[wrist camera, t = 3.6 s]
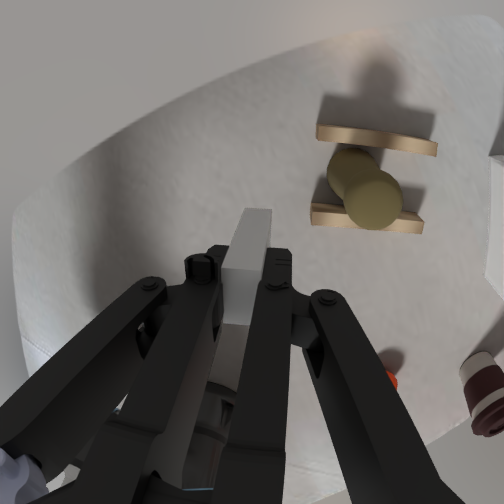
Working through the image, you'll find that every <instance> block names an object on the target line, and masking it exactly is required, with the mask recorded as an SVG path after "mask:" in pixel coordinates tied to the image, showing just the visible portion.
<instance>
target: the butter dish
mask: <svg viewBox="0 0 504 504" xmlns="http://www.w3.org/2000/svg"><path fill="white" fill-rule="evenodd" d="M488 163H489V212H488V230H487V243H486V253H485V262H484V270H483V276H484V277H485V278H486V279H487V280H488V282H489V283H490V284H491V285H492V286H493V288H494V289H495V290H496V291H497V293H498V294H499V295H500V297H501V298H502V299H503V300H504V155H494V156H488Z"/></svg>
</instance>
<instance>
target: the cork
mask: <svg viewBox="0 0 504 504" xmlns="http://www.w3.org/2000/svg"><path fill="white" fill-rule="evenodd" d="M327 180H328V183H329V185H330V187H331V189H332V190H333V191H334V192H335V193H336V194H337V195H338V196H339V197H340V198H341V199H342V200H343V202H344V207H345V210H346V213H347V214H348V216H349V218H350V219H351V220H352V221H353V222H354V223H355V224H356V225H358V226H359V227H362V228H364V229H367V230H379V229H384V228H386V227H387V226H389V225H391V224H392V223H393V222H394V221H395V220H396V219H397V218H398V216H399V214H400V212H401V210H402V205H403V195H402V190H401V188H400V186H399V184H398V182H397V181H396V180H395V179H394V178H393V177H392V176H391V175H390V174H389V173H386V172H384V171H382V170H380V168H379V167H378V165H377V163H376V162H375V160H374V158H373V157H372V156H371V155H370V154H369V153H368V152H366V151H364V150H362V149H360V148H347V149H343V150H341V151H340V152H338V153H336V154H335V155H334V156H333V158H332V159H331V160H330V162H329V165H328V167H327Z"/></svg>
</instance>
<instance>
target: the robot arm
mask: <svg viewBox="0 0 504 504" xmlns="http://www.w3.org/2000/svg"><path fill="white" fill-rule="evenodd" d="M271 217H272V209H256V208H245V209H244V212H243V214H242V216H241V219H240V221H239V224H238V226H237V229H236V231H235V234H234V236H233V239H232V241H231V244H230V246H226V245H214V246H212V247H211V248H209V249H208V251H207V253H200V254H194V255H191V256H189V257H187V258H186V259H185V260H184V262H185V272H186V280H185V282H184V283H183V284H181V285H174V286H166V282H165V280H164V279H162V278H160V277H154V276H151V277H146V278H143V279H140V280H139V281H137V282H136V283H135V284H134V285H132V286H131V287H130V288H129V289H128V290H127V291H125V292H124V293H123V294H122V295H121V296H120V297H118V298H117V299H116V300H115V301H114V302H113V303H111V304H110V305H109V306H108V307H107V308H106V309H105V310H103V311H102V312H101V313H100V314H99V315H98V316H97V317H95V318H94V319H93V320H92V321H91V322H90V323H89V324H88V325H86V326H85V327H84V328H83V329H82V330H81V331H80V332H79V333H77V334H76V335H75V336H74V337H73V338H72V339H71V340H70V341H69V342H68V343H66V344H65V345H64V346H63V347H62V348H61V349H60V350H59V351H58V352H57V353H56V354H55V355H53V356H52V357H51V358H50V359H49V360H48V361H47V362H46V363H45V364H44V365H43V366H42V367H41V368H40V369H39V370H38V371H36V372H35V373H34V374H33V375H32V376H31V377H30V378H29V379H28V380H27V381H26V382H25V383H24V384H23V385H22V386H21V387H20V388H19V389H18V390H17V391H16V392H15V393H14V394H13V395H12V396H11V397H10V398H9V399H8V400H7V401H6V402H5V403H4V404H3V405H2V406H1V407H0V504H282V498H283V486H284V475H285V461H286V452H285V439H286V424H287V408H288V391H289V371H290V349H291V344H293V345H296V346H299V347H302V352H303V355H304V358H305V361H306V364H307V367H308V370H309V373H310V376H311V379H312V382H313V385H314V388H315V391H316V394H317V397H318V400H319V403H320V406H321V409H322V412H323V415H324V418H325V421H326V424H327V427H328V430H329V433H330V436H331V439H332V443H333V446H334V449H335V452H336V455H337V458H338V461H339V464H340V467H341V470H342V474H343V477H344V480H345V483H346V486H347V489H348V492H349V495H350V499H351V501H352V504H465V503H464V502H463V501H462V500H461V499H460V498H459V497H458V496H457V495H456V494H455V493H454V492H453V491H452V490H451V489H450V488H449V487H448V486H447V485H446V484H445V483H444V482H443V481H442V480H441V479H440V477H439V475H438V472H437V470H436V468H435V466H434V464H433V462H432V460H431V458H430V456H429V454H428V451H427V449H426V447H425V445H424V443H423V441H422V439H421V437H420V435H419V433H418V431H417V429H416V427H415V425H414V423H413V421H412V419H411V417H410V415H409V413H408V411H407V409H406V407H405V406H404V404H403V402H402V400H401V398H400V396H399V394H398V392H397V390H396V388H395V387H394V385H393V383H392V381H391V379H390V377H389V375H388V374H387V372H386V370H385V368H384V366H383V364H382V363H381V361H380V359H379V357H378V355H377V354H376V352H375V350H374V348H373V347H372V345H371V343H370V341H369V339H368V338H367V336H366V334H365V332H364V331H363V329H362V327H361V325H360V324H359V322H358V320H357V319H356V317H355V315H354V313H353V312H352V310H351V308H350V307H349V305H348V303H347V302H346V300H345V298H344V297H343V296H342V295H341V294H340V293H338V292H336V291H333V290H329V289H321V290H317V291H315V292H313V293H312V294H311V296H307V295H304V294H301V293H299V292H298V291H296V290H295V289H294V288H293V286H292V254H291V252H290V251H289V250H288V249H283V248H270V240H271ZM222 317H223V323H225V324H235V325H246V326H250V328H249V333H248V339H247V344H246V349H245V354H244V359H243V364H242V369H241V374H240V380H239V385H238V390H237V394H236V393H235V392H233V391H232V390H230V389H228V388H226V387H223V386H221V385H218V384H215V383H211V382H207V380H208V376H209V373H210V369H211V366H212V362H213V359H214V355H215V352H216V348H217V345H218V341H219V338H220V334H221V320H222ZM141 324H142V327H141V328H140V329H139V330H138V327H139V326H140V325H141ZM128 392H129V393H128ZM127 394H128V395H127ZM126 395H127V397H126V399H125V401H124V403H123V406H122V408H121V410H120V409H118V408H116V407H117V406H118V405H119V403H120V402H121V401H122V400H123V399H124V397H125V396H126ZM63 471H64V472H65V478H64V480H63V483H62V485H61V487H60V488H58V489H56V490H54V491H52V492H50V493H49V490H48V488H47V487H46V484H47V483H48V482H50V481H51V480H53V479H54V478H55V477H57V476H58V475H59V474H60V473H61V472H63Z"/></svg>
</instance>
